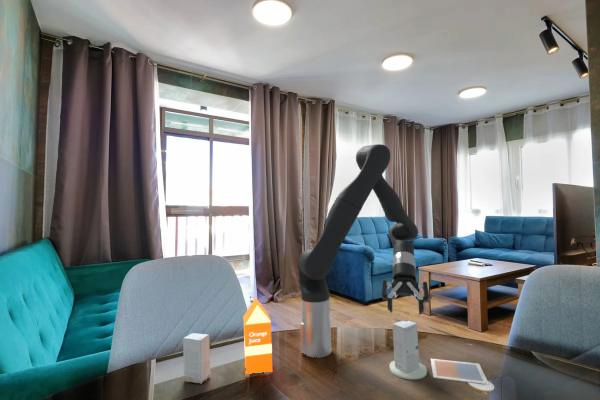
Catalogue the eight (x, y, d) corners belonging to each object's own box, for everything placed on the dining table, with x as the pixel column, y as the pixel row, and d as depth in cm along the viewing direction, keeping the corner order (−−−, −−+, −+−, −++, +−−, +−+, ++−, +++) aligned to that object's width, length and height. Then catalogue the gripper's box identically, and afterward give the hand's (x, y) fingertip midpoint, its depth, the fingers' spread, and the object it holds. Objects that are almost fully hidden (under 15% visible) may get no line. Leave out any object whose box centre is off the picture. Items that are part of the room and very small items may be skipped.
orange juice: (245, 378, 87) (243, 305, 87) (244, 363, 95) (242, 297, 96) (273, 374, 88) (271, 303, 89) (269, 360, 97) (267, 295, 98)
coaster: (388, 376, 85) (388, 373, 85) (390, 360, 94) (390, 357, 94) (428, 381, 81) (428, 378, 81) (425, 364, 91) (425, 361, 91)
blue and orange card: (433, 377, 83) (433, 377, 83) (430, 359, 94) (430, 358, 94) (488, 384, 79) (488, 383, 79) (479, 364, 89) (479, 363, 89)
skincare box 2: (407, 373, 84) (404, 328, 85) (393, 367, 88) (391, 323, 89) (420, 366, 88) (418, 323, 88) (407, 360, 92) (405, 319, 92)
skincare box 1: (211, 377, 88) (210, 334, 88) (201, 385, 84) (200, 340, 84) (193, 374, 90) (192, 332, 90) (183, 382, 86) (182, 338, 86)
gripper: (381, 261, 106) (380, 304, 95) (426, 262, 102) (430, 307, 90) (383, 273, 111) (382, 316, 100) (426, 275, 106) (430, 320, 95)
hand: (405, 312), depth 95 cm, fingers open, 8 cm apart
